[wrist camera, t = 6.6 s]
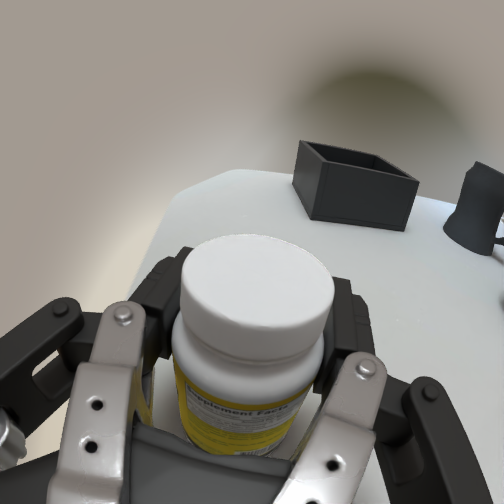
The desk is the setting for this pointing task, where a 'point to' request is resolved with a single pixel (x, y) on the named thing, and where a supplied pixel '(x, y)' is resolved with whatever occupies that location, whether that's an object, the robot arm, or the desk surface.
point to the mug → (478, 210)
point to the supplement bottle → (247, 340)
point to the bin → (352, 187)
